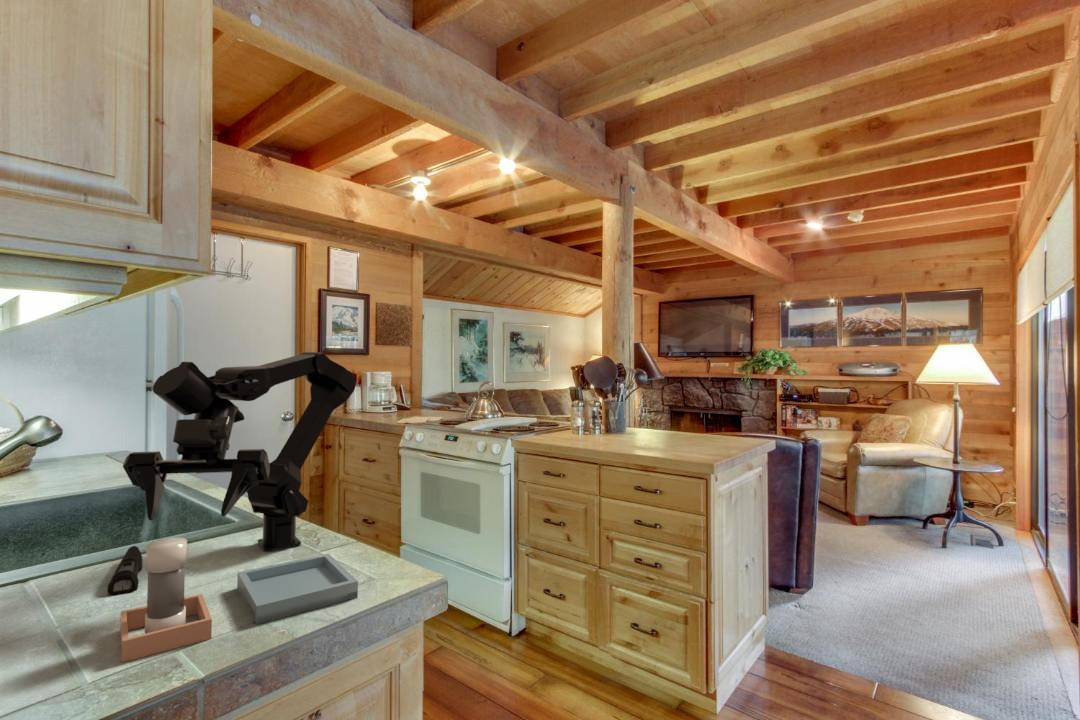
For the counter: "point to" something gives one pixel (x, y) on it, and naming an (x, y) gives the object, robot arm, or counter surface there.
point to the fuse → (165, 583)
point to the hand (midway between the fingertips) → (187, 517)
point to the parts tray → (295, 587)
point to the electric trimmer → (126, 573)
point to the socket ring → (164, 630)
